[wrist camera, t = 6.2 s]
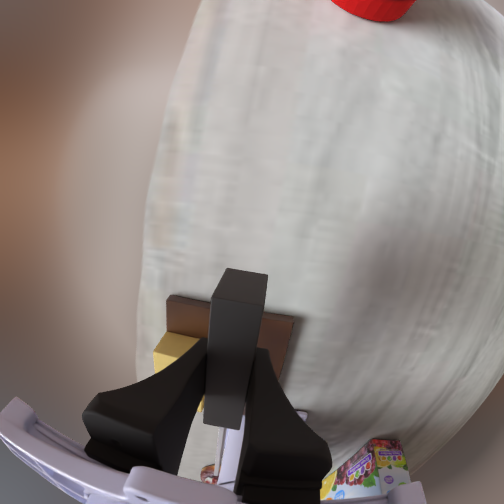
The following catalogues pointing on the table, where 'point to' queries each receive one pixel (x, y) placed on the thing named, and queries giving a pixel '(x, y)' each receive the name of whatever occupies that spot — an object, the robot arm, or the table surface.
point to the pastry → (209, 475)
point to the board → (197, 325)
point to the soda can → (376, 8)
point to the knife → (232, 349)
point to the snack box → (368, 472)
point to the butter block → (173, 352)
